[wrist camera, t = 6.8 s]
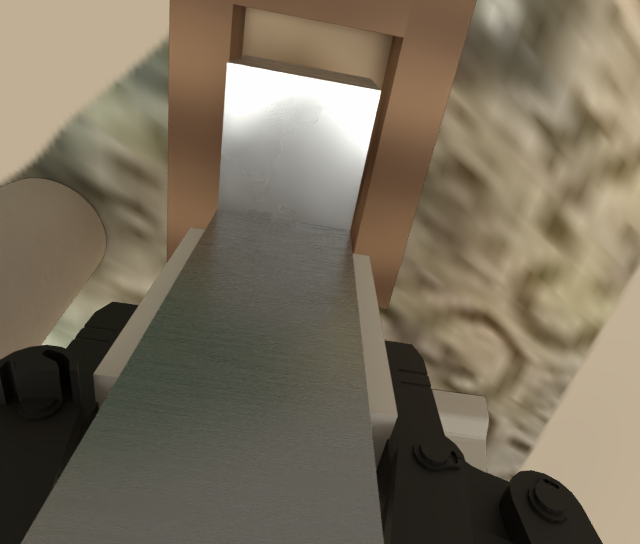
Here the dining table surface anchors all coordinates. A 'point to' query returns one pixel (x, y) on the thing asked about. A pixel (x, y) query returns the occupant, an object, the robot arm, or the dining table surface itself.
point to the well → (328, 54)
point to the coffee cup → (43, 257)
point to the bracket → (247, 348)
